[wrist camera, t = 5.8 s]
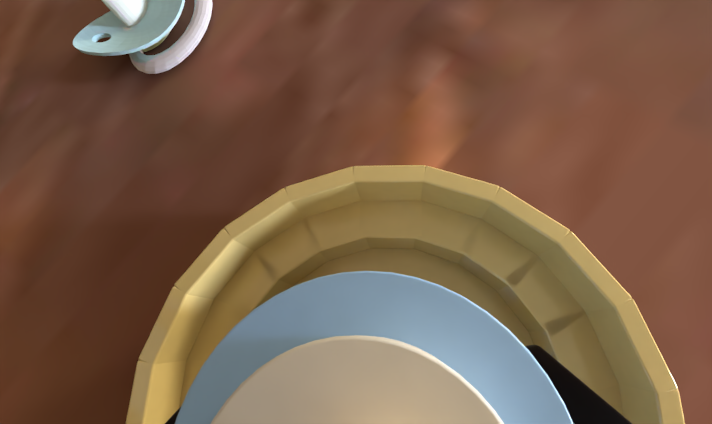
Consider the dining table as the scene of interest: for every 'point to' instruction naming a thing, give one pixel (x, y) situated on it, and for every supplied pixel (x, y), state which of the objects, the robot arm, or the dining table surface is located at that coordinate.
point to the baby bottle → (371, 360)
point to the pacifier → (144, 32)
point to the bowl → (418, 259)
